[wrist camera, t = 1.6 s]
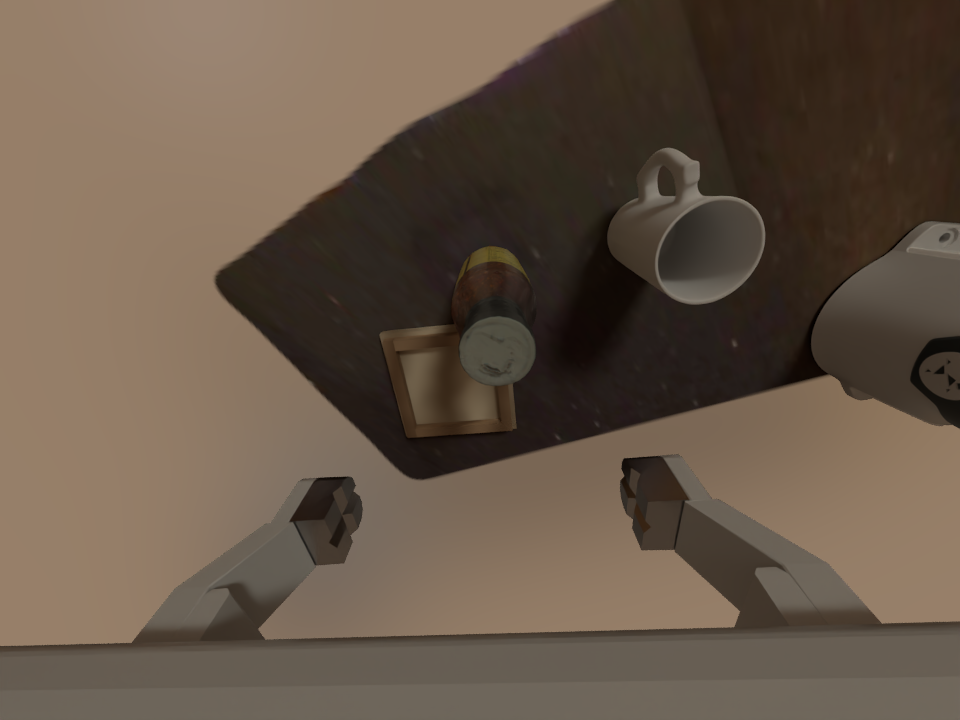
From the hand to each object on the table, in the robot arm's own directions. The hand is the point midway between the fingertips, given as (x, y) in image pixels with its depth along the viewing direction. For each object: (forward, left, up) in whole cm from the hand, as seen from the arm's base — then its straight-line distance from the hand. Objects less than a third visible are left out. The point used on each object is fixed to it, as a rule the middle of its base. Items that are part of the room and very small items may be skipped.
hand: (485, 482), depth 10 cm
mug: (-14, -4, -28) cm, 32 cm away
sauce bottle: (0, 0, -28) cm, 28 cm away
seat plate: (+6, +12, -28) cm, 31 cm away
